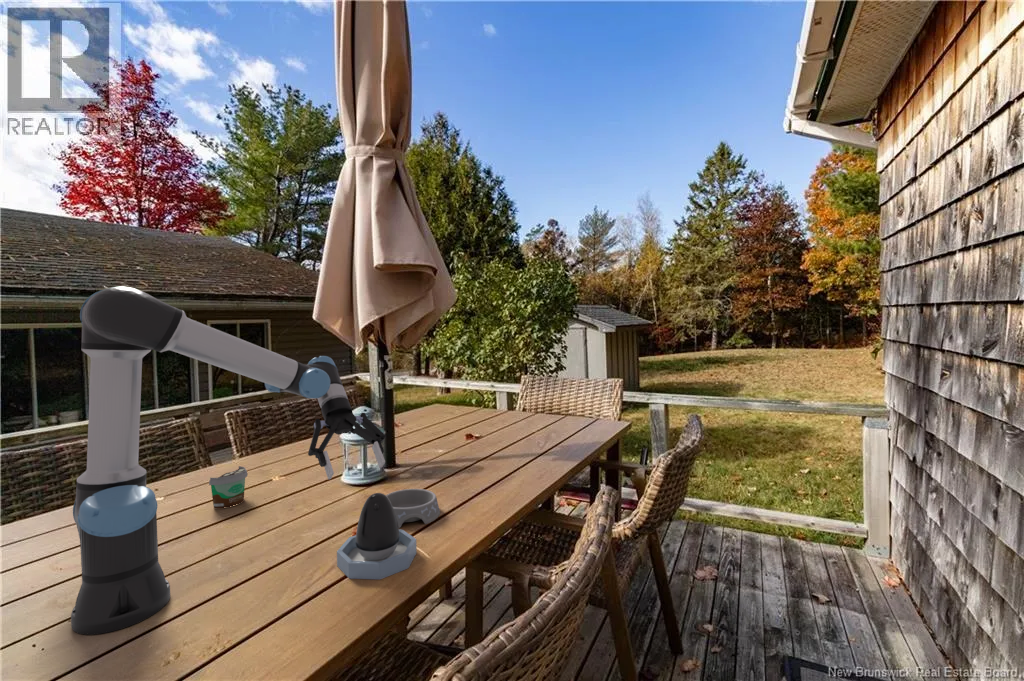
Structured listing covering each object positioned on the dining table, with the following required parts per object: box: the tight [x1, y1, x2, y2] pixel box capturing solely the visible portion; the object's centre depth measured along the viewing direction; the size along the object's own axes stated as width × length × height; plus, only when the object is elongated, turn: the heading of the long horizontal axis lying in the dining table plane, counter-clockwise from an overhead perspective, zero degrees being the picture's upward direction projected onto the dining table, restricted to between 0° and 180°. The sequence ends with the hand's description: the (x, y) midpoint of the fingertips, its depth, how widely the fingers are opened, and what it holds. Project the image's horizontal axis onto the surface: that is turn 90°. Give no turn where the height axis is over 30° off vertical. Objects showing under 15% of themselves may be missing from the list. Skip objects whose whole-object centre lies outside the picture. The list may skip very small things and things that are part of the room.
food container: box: [208, 465, 248, 509], centre depth 146 cm, size 12×6×10 cm, turn 168°
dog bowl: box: [385, 488, 441, 529], centre depth 138 cm, size 17×18×5 cm
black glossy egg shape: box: [355, 492, 400, 561], centre depth 112 cm, size 10×10×15 cm
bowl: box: [336, 528, 417, 580], centre depth 112 cm, size 17×17×4 cm
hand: (357, 470), depth 119 cm, fingers open, 13 cm apart
